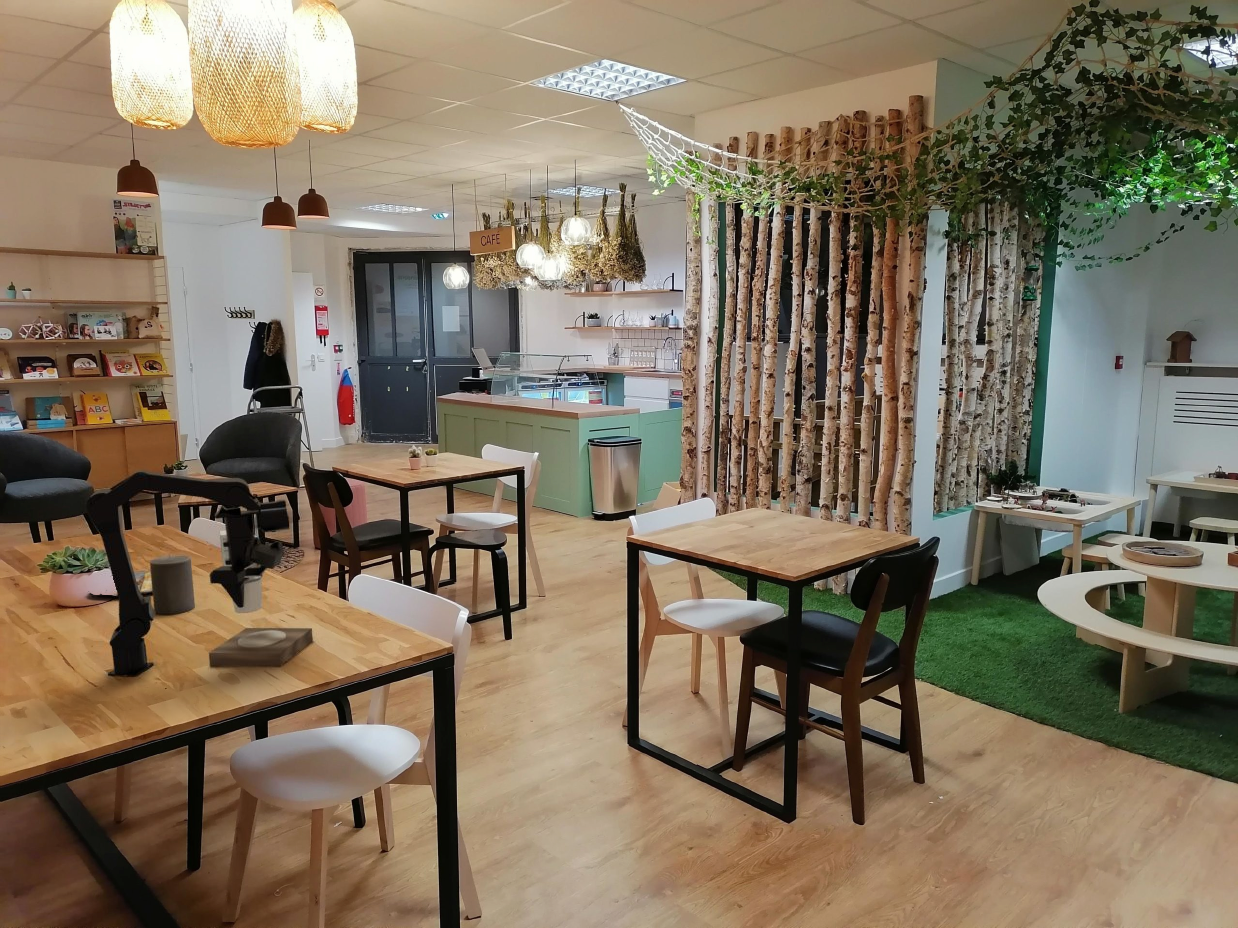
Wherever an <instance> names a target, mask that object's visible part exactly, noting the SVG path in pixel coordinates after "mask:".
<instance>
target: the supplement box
mask: <svg viewBox="0 0 1238 928" xmlns="http://www.w3.org/2000/svg"><path fill="white" fill-rule="evenodd" d="M219 539H220V541H219V542H220V550H221V560H222V566H232V565H226V564H225V560H227V559H229V554H228V547H224V546H223V542H225V541H227V536H226V529H225V530H219Z"/></svg>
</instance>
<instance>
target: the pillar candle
mask: <svg viewBox="0 0 1238 928" xmlns="http://www.w3.org/2000/svg"><path fill="white" fill-rule="evenodd" d="M149 566H150V570H151V581H152V592H151V593H152V598H153V599H152V601H153V609H154V610H155V615H161V616H171V615H177V614H181V613H182V614H183V613H187V612H189V611H192V610H193V609H195V606H196V603H195V592H194V589H195V588H194V580H193V568H192V557H191V556H189V555H180V554H179V555H177V554H176V555H170V554H168V555H167V556H161V557H157V558H153V559H151V560H150V562H149Z"/></svg>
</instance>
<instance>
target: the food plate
mask: <svg viewBox="0 0 1238 928" xmlns="http://www.w3.org/2000/svg"><path fill="white" fill-rule="evenodd" d="M134 574H135V578H136V582H137V585H138V584H140V585H138V589H139V591H140V593H141V594H142V595H143V594H146V595H147V594H149V593H152V581H151V569H150V570H138V571H134ZM115 595H118V594H116V593H115Z"/></svg>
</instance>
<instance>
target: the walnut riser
mask: <svg viewBox="0 0 1238 928" xmlns="http://www.w3.org/2000/svg"><path fill="white" fill-rule="evenodd" d="M313 637H314V636H313V628H311V627H308V628H307V627H304V628H300V627H246V628H243V629H242V630H241V631H239V632H238V633H236V634H235V635H234V636H232V637H231V638H228V639H227V640H226V641H224V642H223V643H222V644H220V645H218V646H217V647H215V648H214V649H213V650H211V651H209V652H208V659H209V661H208V662H209V666H210V667H282V666H283V665H285V664H286V663H287V662H288V661H290V660H291V659H292V658H293V657H295V654H296V653H297V652H298V653H299V652H301V651H302V650H303V649H304V648H306V647H307V646H308V645H309V644H310V643H312V642H313V641H314V638H313ZM311 641H312V642H311ZM305 646H306V647H305ZM301 649H302V650H301ZM300 650H301V651H300ZM298 653H297V654H298ZM297 654H296V655H297ZM292 656H293V657H292ZM291 657H292V658H291ZM290 658H291V659H290ZM289 659H290V660H289ZM286 661H287V662H286ZM285 662H286V663H285ZM284 663H285V664H284ZM282 664H283V665H282ZM281 665H282V666H281Z"/></svg>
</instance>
